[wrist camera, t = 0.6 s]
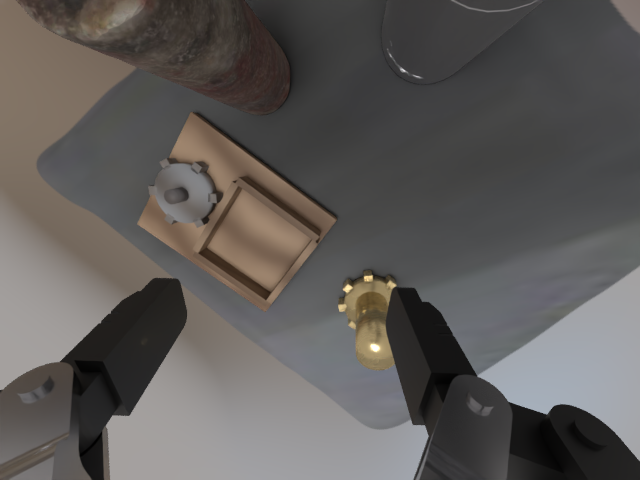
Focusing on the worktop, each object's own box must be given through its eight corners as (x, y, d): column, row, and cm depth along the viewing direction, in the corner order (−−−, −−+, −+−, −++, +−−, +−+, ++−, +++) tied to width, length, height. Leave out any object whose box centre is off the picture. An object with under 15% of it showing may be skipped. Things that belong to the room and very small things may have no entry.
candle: (214, 97, 29) (-37, -11, 10) (235, 23, 27) (-40, -287, 8) (276, 127, 30) (141, 77, 11) (303, 57, 27) (188, -169, 8)
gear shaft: (365, 258, 33) (370, 299, 23) (416, 295, 34) (441, 350, 24) (326, 302, 35) (317, 356, 26) (375, 336, 36) (382, 400, 27)
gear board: (197, 113, 30) (169, 105, 26) (337, 218, 32) (334, 228, 27) (144, 221, 35) (113, 231, 31) (267, 307, 37) (255, 328, 32)
